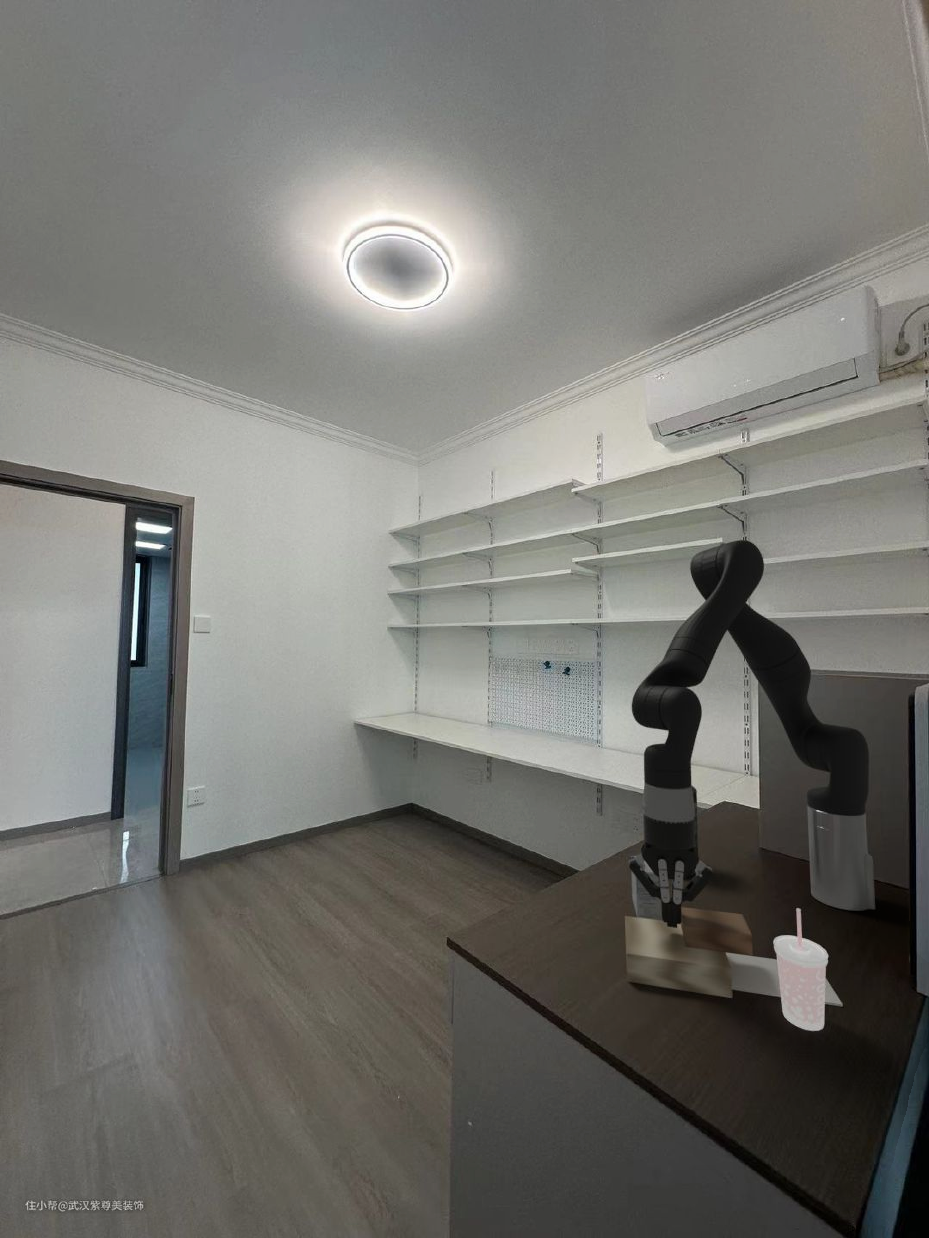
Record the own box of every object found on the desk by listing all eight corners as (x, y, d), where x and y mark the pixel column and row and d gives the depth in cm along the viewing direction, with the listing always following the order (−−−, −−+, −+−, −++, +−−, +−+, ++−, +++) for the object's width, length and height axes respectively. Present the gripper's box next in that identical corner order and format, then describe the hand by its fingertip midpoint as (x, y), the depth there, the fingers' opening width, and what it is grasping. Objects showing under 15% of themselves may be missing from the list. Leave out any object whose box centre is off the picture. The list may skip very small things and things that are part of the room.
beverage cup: (804, 1039, 65) (799, 923, 66) (765, 1006, 71) (761, 900, 72) (843, 1030, 66) (838, 917, 67) (802, 998, 72) (797, 895, 73)
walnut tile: (742, 933, 81) (742, 914, 81) (752, 955, 76) (751, 934, 76) (681, 925, 84) (680, 906, 84) (685, 946, 78) (685, 925, 78)
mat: (817, 967, 79) (817, 965, 79) (842, 1006, 71) (842, 1004, 71) (717, 953, 83) (717, 951, 83) (729, 988, 74) (729, 986, 74)
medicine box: (663, 923, 92) (661, 873, 92) (636, 921, 93) (635, 871, 93) (655, 902, 100) (654, 856, 100) (631, 900, 101) (630, 854, 101)
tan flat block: (717, 953, 83) (716, 927, 83) (732, 998, 72) (731, 968, 73) (625, 940, 87) (624, 915, 87) (627, 981, 76) (626, 953, 76)
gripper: (709, 808, 84) (713, 918, 83) (624, 802, 88) (626, 907, 87) (718, 823, 77) (722, 944, 76) (625, 816, 81) (627, 931, 80)
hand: (671, 924), depth 82 cm, fingers closed
